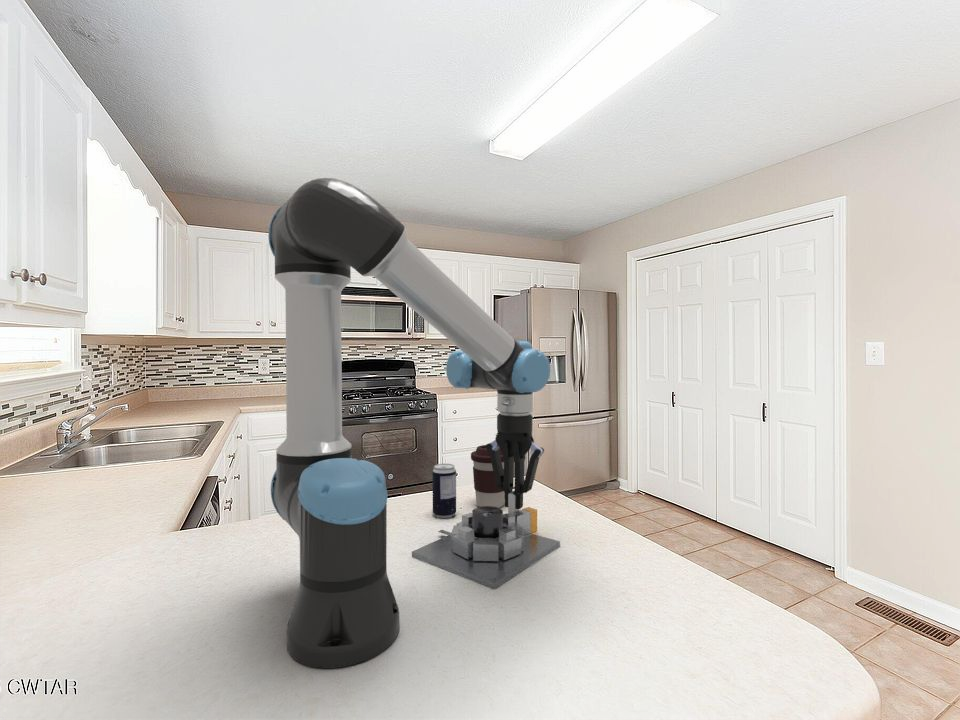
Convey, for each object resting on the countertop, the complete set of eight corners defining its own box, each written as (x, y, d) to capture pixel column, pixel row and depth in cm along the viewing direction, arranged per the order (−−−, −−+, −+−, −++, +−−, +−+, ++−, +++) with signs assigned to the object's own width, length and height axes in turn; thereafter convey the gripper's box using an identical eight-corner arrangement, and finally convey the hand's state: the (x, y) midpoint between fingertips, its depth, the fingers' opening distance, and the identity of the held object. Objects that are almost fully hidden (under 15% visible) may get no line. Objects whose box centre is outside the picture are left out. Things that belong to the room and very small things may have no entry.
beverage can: (457, 511, 117) (457, 463, 117) (454, 519, 111) (454, 469, 111) (435, 511, 118) (434, 462, 117) (430, 519, 112) (430, 468, 112)
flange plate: (494, 588, 79) (494, 541, 79) (401, 552, 93) (401, 512, 93) (564, 543, 97) (564, 504, 97) (477, 519, 112) (477, 485, 111)
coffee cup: (465, 502, 125) (464, 445, 124) (498, 497, 129) (498, 442, 128) (481, 513, 116) (480, 452, 115) (516, 507, 120) (516, 448, 119)
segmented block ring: (438, 544, 94) (437, 521, 94) (510, 520, 107) (510, 500, 107) (484, 568, 84) (484, 542, 84) (558, 538, 97) (558, 515, 97)
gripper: (479, 413, 101) (478, 522, 101) (536, 417, 95) (535, 534, 95) (495, 409, 107) (494, 512, 108) (549, 413, 101) (548, 522, 102)
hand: (513, 522), depth 102 cm, fingers closed
